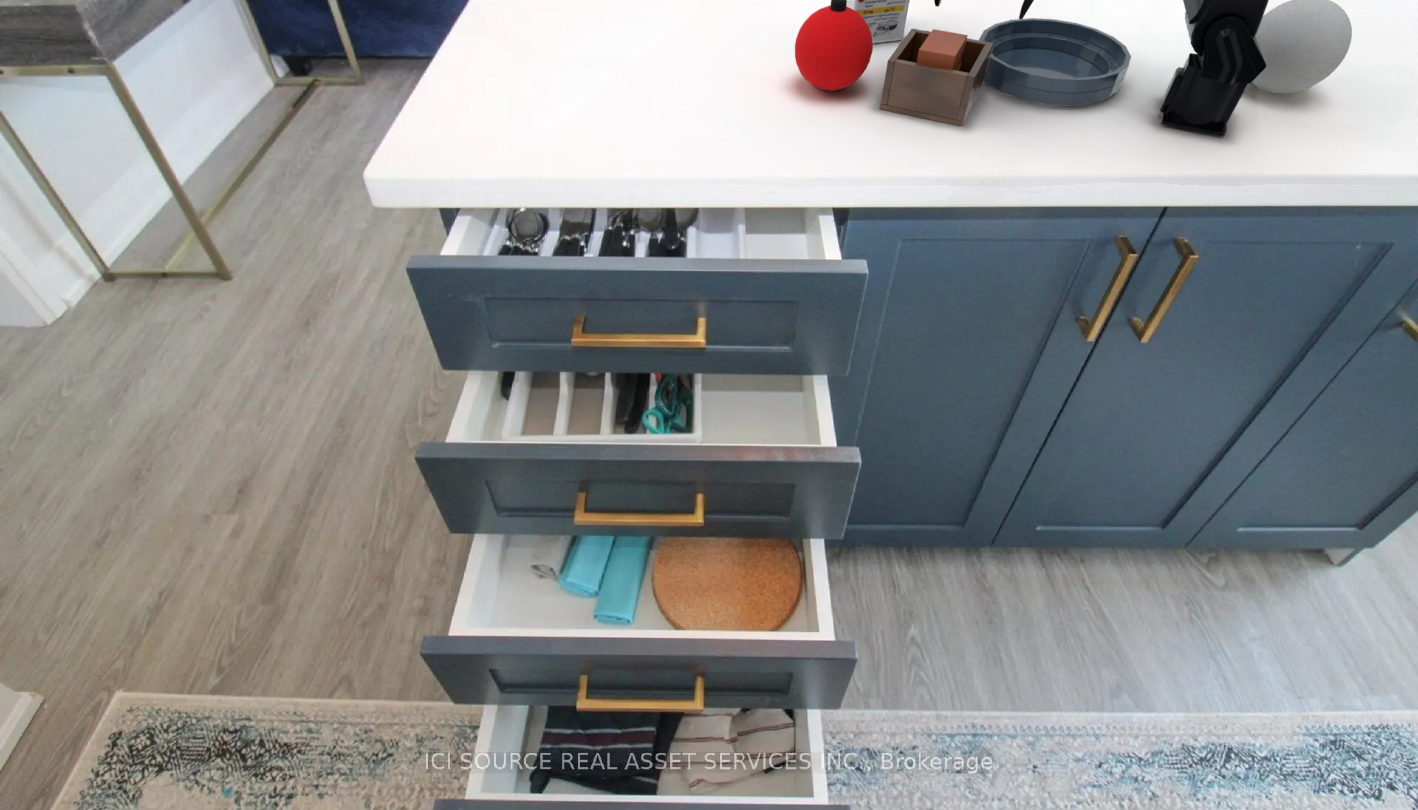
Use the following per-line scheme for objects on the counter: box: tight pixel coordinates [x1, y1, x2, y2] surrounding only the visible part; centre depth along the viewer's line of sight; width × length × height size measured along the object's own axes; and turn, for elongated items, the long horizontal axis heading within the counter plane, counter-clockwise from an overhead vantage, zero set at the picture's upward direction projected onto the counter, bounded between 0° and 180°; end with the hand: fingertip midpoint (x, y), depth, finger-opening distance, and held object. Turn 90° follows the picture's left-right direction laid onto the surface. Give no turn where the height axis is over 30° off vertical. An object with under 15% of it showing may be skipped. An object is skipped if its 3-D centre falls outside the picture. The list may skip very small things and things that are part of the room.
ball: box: [1250, 0, 1353, 95], centre depth 86 cm, size 10×10×10 cm
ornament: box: [794, 0, 874, 91], centre depth 87 cm, size 9×9×10 cm
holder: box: [879, 28, 993, 127], centre depth 86 cm, size 10×10×6 cm
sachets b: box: [917, 28, 968, 70], centre depth 85 cm, size 4×6×3 cm, turn 154°
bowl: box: [978, 17, 1132, 107], centre depth 91 cm, size 17×17×4 cm
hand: (978, 11), depth 84 cm, fingers open, 9 cm apart
